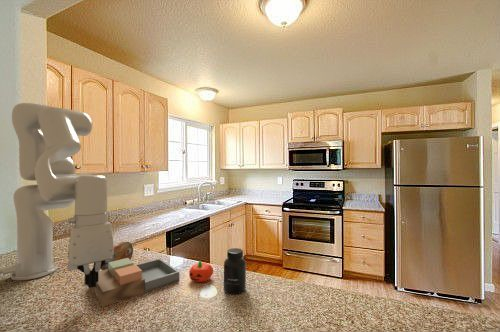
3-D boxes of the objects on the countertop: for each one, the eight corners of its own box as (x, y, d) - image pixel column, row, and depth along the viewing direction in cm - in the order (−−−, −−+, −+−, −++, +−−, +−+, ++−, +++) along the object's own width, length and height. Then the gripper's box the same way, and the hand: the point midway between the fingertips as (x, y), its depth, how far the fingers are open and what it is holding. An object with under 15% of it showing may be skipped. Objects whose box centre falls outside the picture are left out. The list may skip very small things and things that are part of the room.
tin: (105, 276, 84) (105, 251, 84) (97, 275, 85) (97, 251, 85) (133, 259, 99) (133, 239, 99) (127, 259, 100) (127, 238, 100)
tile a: (120, 285, 69) (120, 276, 69) (114, 278, 74) (114, 269, 74) (142, 278, 73) (142, 270, 73) (135, 272, 78) (135, 264, 78)
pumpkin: (214, 283, 79) (215, 265, 79) (189, 287, 77) (189, 268, 76) (211, 272, 86) (211, 254, 85) (188, 275, 84) (188, 257, 83)
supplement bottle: (228, 297, 70) (228, 256, 70) (220, 287, 76) (220, 249, 76) (249, 291, 73) (249, 252, 73) (240, 282, 79) (240, 245, 79)
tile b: (113, 276, 75) (113, 268, 75) (108, 270, 79) (108, 262, 80) (133, 270, 79) (133, 262, 79) (128, 265, 84) (128, 257, 84)
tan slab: (102, 306, 65) (102, 292, 65) (91, 285, 77) (91, 273, 77) (144, 292, 73) (144, 279, 73) (128, 275, 85) (128, 263, 85)
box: (145, 292, 73) (145, 282, 73) (129, 275, 85) (129, 266, 85) (179, 280, 80) (179, 271, 80) (160, 266, 92) (160, 258, 92)
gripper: (58, 226, 59) (58, 301, 59) (124, 217, 69) (124, 282, 69) (55, 221, 65) (55, 290, 65) (117, 214, 75) (117, 273, 75)
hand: (91, 285), depth 67 cm, fingers closed
